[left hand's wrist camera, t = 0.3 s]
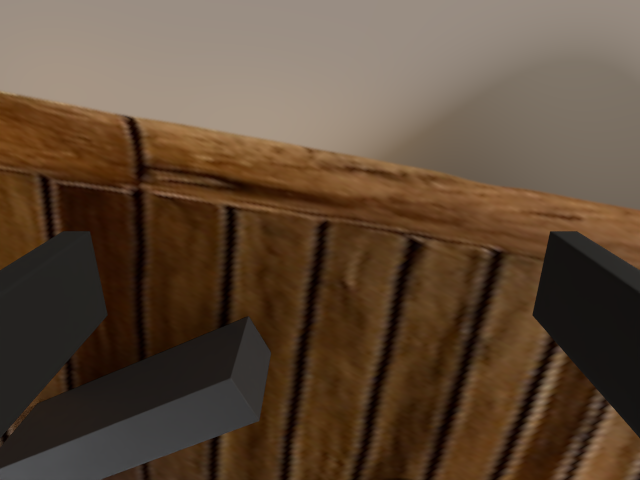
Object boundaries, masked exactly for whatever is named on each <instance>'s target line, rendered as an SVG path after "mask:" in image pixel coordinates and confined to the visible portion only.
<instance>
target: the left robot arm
mask: <svg viewBox="0 0 640 480" xmlns="http://www.w3.org/2000/svg"><path fill="white" fill-rule="evenodd" d="M106 316H107V310H106V306H105V301H104V296H103V292H102V287H101V282H100V277H99V273H98V268H97V263H96V258H95V254H94V249H93V244H92V240H91V235H90V231H63V232H61V233H60V234H58V235H56V236H55V237H53V238H52V239H50V240H48V241H47V242H45V243H44V244H42V245H40V246H39V247H37V248H35V249H34V250H32V251H31V252H29V253H27V254H26V255H24V256H23V257H21V258H19V259H18V260H16V261H15V262H13V263H11V264H10V265H8V266H6V267H5V268H3V269H2V270H0V438H1V436H2V435H3V434H4V433H5V432H6V431H7V430H8V428H9V427H10V426H11V425H12V424H13V423H14V422H15V420H16V419H17V418H18V417H19V416H20V415H21V414H22V412H23V411H24V410H25V409H26V408H27V407H28V406H29V404H30V403H31V402H32V401H33V400H34V399H35V398H36V396H37V395H38V394H39V393H40V392H41V391H42V390H43V388H44V387H45V386H46V385H47V384H48V383H49V382H50V380H51V379H52V378H53V377H54V376H55V375H56V374H57V372H58V371H59V370H60V369H61V368H62V367H63V366H64V364H65V363H66V362H67V361H68V360H69V359H70V358H71V356H72V355H73V354H74V353H75V352H76V351H77V350H78V348H79V347H80V346H81V345H82V344H83V343H84V342H85V340H86V339H87V338H88V337H89V336H90V335H91V334H92V332H93V331H94V330H95V329H96V328H97V327H98V325H99V324H100V323H101V322H102V321H103V320H104V319H105V317H106ZM533 316H534V317H535V319H536V320H537V321H538V322H539V323H540V324H541V325H542V327H543V328H544V329H545V330H546V331H547V332H548V334H549V335H550V336H551V337H552V338H553V339H554V340H555V342H556V343H557V344H558V345H559V346H560V347H561V348H562V350H563V351H564V352H565V353H566V354H567V355H568V356H569V358H570V359H571V360H572V361H573V362H574V363H575V364H576V366H577V367H578V368H579V369H580V370H581V371H582V372H583V374H584V375H585V376H586V377H587V378H588V379H589V380H590V382H591V383H592V384H593V385H594V386H595V387H596V388H597V390H598V391H599V392H600V393H601V394H602V395H603V396H604V398H605V399H606V400H607V401H608V402H609V403H610V404H611V406H612V407H613V408H614V409H615V410H616V411H617V412H618V414H619V415H620V416H621V417H622V418H623V419H624V420H625V422H626V423H627V424H628V425H629V426H630V427H631V428H632V430H633V431H634V432H635V433H636V434H637V435H638V436H639V438H640V270H638V269H637V268H635V267H634V266H632V265H630V264H629V263H627V262H625V261H624V260H622V259H621V258H619V257H617V256H616V255H614V254H613V253H611V252H609V251H608V250H606V249H605V248H603V247H601V246H600V245H598V244H596V243H595V242H593V241H592V240H590V239H588V238H587V237H585V236H584V235H582V234H580V233H579V232H577V231H550V235H549V240H548V244H547V249H546V254H545V258H544V263H543V268H542V273H541V277H540V282H539V287H538V292H537V296H536V301H535V306H534V310H533Z"/></svg>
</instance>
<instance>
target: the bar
mask: <svg viewBox="0 0 640 480" xmlns="http://www.w3.org/2000/svg"><path fill="white" fill-rule="evenodd" d="M270 356H271V352H270V350H269V349H268V347H267V345H266V344H265V342H264V340H263V339H262V337H261V336H260V334H259V332H258V331H257V329H256V327H255V326H254V324H253V322H252V321H251V319H250V318H249V316H248V317H245V318H243V319H241V320H238V321H236V322H233V323H231V324H229V325H226V326H224V327H221V328H219V329H216V330H214V331H212V332H209V333H207V334H204V335H202V336H200V337H197V338H195V339H192V340H190V341H188V342H185V343H183V344H180V345H178V346H176V347H173V348H171V349H168V350H166V351H163V352H161V353H159V354H156V355H154V356H151V357H149V358H147V359H144V360H142V361H139V362H137V363H135V364H132V365H130V366H127V367H125V368H122V369H120V370H118V371H115V372H113V373H110V374H108V375H106V376H103V377H101V378H98V379H96V380H94V381H91V382H89V383H86V384H84V385H81V386H79V387H77V388H74V389H72V390H69V391H67V392H65V393H62V394H60V395H57V396H55V397H53V398H50V399H48V400H45V401H43V402H40V403H38V404H37V405H36V406H35V407H34V408H33V409H32V411H31V412H30V413H29V414H28V415H27V417H26V418H25V419H24V420H23V421H22V422H21V424H20V425H19V426H18V427H17V428H16V429H15V431H14V432H13V433H12V434H11V435H10V437H9V438H8V439H7V440H6V441H5V442H4V444H3V445H2V446H1V447H0V480H100V479H103V478H105V477H108V476H111V475H114V474H116V473H119V472H122V471H124V470H127V469H130V468H133V467H135V466H138V465H141V464H143V463H146V462H149V461H151V460H154V459H157V458H160V457H162V456H165V455H168V454H170V453H173V452H176V451H179V450H181V449H184V448H187V447H189V446H192V445H195V444H197V443H200V442H203V441H206V440H208V439H211V438H214V437H216V436H219V435H222V434H225V433H227V432H230V431H233V430H235V429H238V428H241V427H243V426H246V425H249V424H252V423H254V422H257V421H259V419H260V413H261V407H262V402H263V396H264V390H265V384H266V379H267V373H268V367H269V361H270Z"/></svg>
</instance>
